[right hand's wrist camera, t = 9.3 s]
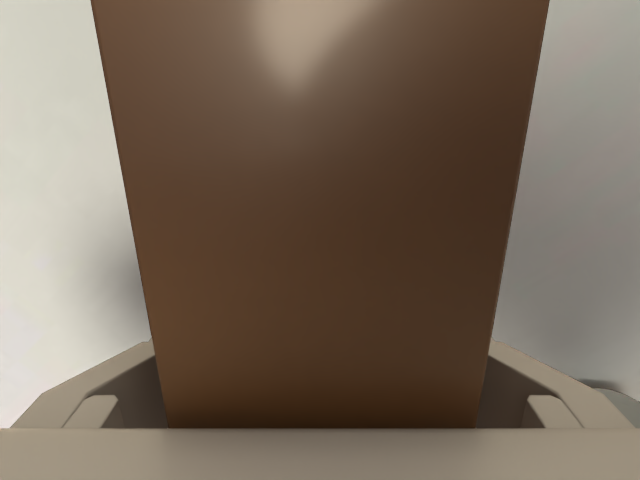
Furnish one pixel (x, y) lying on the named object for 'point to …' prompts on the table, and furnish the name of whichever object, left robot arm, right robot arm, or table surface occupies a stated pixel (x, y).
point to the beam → (320, 199)
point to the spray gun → (624, 405)
